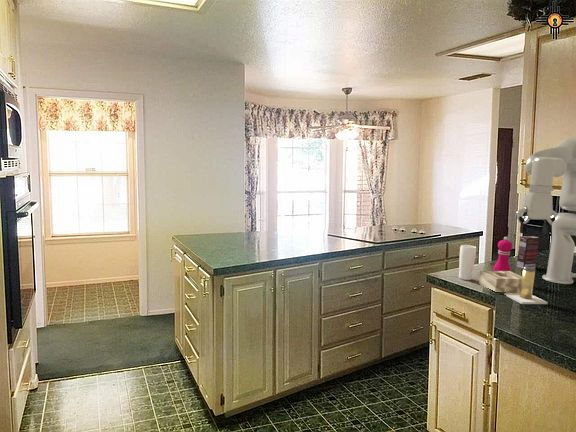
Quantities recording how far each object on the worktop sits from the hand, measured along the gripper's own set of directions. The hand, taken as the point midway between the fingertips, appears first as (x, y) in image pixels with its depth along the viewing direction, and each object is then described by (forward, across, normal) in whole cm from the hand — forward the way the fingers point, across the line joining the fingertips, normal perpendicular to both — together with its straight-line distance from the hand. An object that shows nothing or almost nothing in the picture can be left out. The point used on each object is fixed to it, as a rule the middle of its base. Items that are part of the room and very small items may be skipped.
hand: (534, 233), depth 184 cm
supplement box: (+27, -36, -50) cm, 68 cm away
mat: (+26, +1, +1) cm, 26 cm away
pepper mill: (+27, -6, -26) cm, 38 cm away
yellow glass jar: (+26, +1, +1) cm, 26 cm away
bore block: (+26, +2, -13) cm, 30 cm away
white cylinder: (+27, +11, -27) cm, 39 cm away
